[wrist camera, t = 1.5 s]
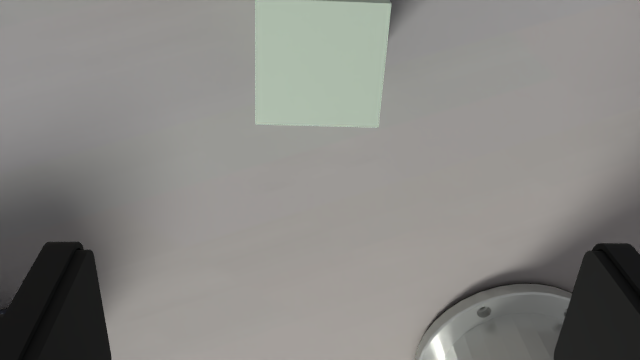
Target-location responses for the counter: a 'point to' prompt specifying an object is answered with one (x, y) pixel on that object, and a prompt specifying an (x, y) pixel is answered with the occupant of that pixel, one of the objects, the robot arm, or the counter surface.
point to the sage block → (320, 61)
